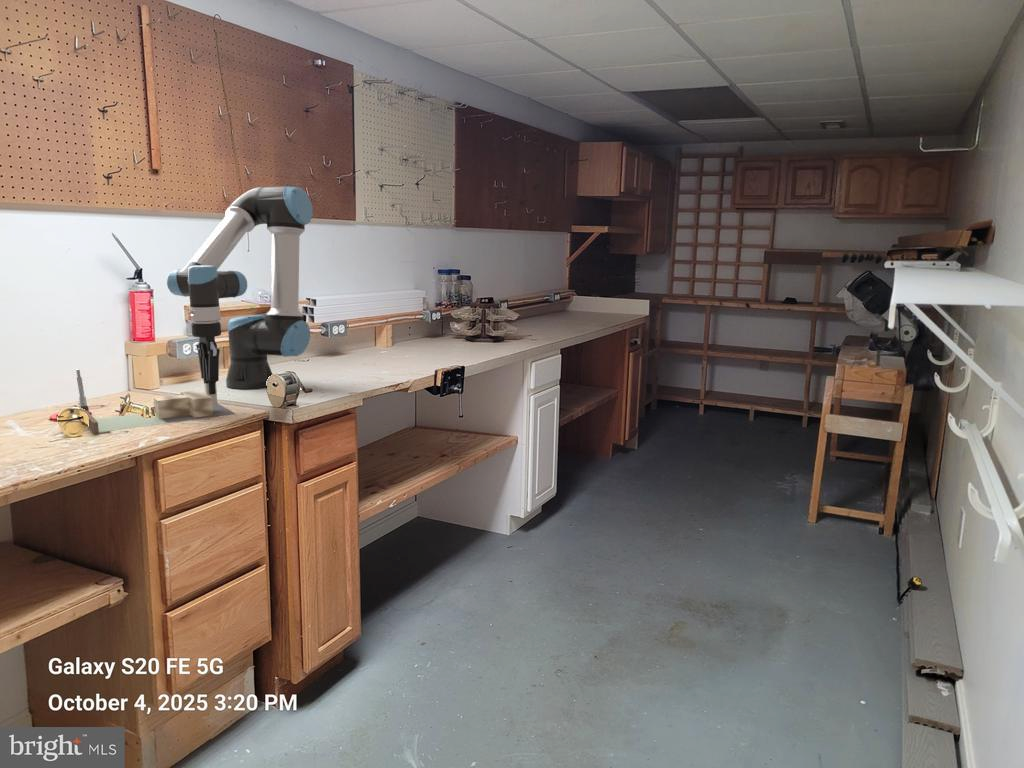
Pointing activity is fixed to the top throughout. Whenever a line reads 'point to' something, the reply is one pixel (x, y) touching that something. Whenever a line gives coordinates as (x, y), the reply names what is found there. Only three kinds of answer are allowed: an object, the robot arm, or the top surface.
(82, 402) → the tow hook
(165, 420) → the mat
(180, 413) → the t block
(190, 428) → the top surface
